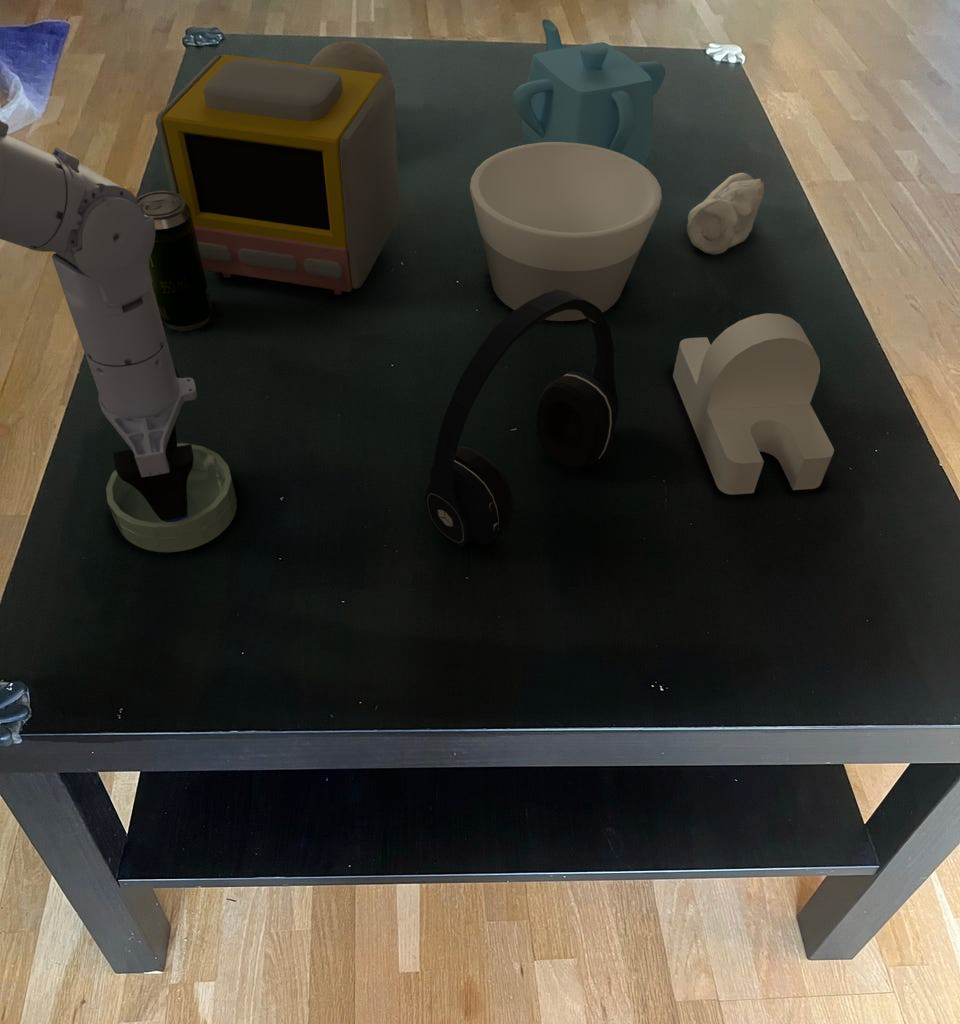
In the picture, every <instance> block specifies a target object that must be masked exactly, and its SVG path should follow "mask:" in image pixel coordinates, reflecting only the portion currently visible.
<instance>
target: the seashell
mask: <svg viewBox="0 0 960 1024" xmlns="http://www.w3.org/2000/svg"><path fill="white" fill-rule="evenodd" d="M308 65H314V66H322V67H330V68H338V69H346V70H354V71H362V72H370V73H378V74H382V75H383V76H385V75H386V76H387V77H388V78H389V79H390V80H391V82H392V83H393V78H392V74H391V71H390V69H389V65H388V64H387V62H386V60H384V58H383V56H382V55H381V54H379V53H378V52H377V51H376V50H375V49H373V48H372V47H370V46H369V45H367V44H365V43H362V42H360V41H354V40H342V41H336V42H333V43H330V44H328V45H326V46H324V47H323V48H322V49H321V50H320V51H319V52H318V53H317V54H315V56H314V57H313V58H312V59H311V61H310V63H309V64H308Z"/></svg>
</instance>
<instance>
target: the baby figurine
mask: <svg viewBox="0 0 960 1024" xmlns="http://www.w3.org/2000/svg"><path fill="white" fill-rule="evenodd" d="M761 179H762V178H756V179H755V178H753V176H751V175H750V174H749V173H746V172H737V173H735V174H732V175H729V176H728V177H727V178H726V179H725V180H724V181H723V182H722V183H720V184H719V185H718V186H717V187H716V188H715V189H714V190H712V191H711V192H710V193H709V195H707V197H706V198H705V199H704V200H703V201H702V202H700V203H698V204H697V205H696V206H694V207H693V208H692V209H691V210H690V211H689V213H688V215H687V224H686V232H687V236H688V238H689V240H690V242H691V244H692V245H693V246H694V247H695V248H697V249H699V250H700V251H701V252H703V253H705V254H709V255H721V254H723V253H725V252H726V251H728V249H729V248H732V247H734V246H736V245H737V246H738V244H741V243H744V242H745V241H746V240H747V239H748V237H749V236H750V233H751V232H752V230H753V228H754V223H755V221H756V218H757V216H758V211H759V209H760V206H761V203H762V201H763V197H764V194H765V190H764V188H765V183H764V182H763V181H762V180H761Z"/></svg>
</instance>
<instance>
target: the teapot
mask: <svg viewBox="0 0 960 1024" xmlns="http://www.w3.org/2000/svg"><path fill="white" fill-rule="evenodd" d="M541 25H542V28H543V32H544V36H545V47H546V48H545V51H540V52H536V53H535V54H534V55H532V60H531V65H530V69H529V74H528V79H527V82H525V83H523V84H520V85H519V86H517V87H516V88H515V90H514V92H513V95H512V102H513V106H514V108H515V110H516V113H517V114H518V115H519V117H520V118H521V126H522V127H521V128H522V135H523V140H524V145H527V144H535V143H545V142H566V143H579V144H586V145H592V146H597V147H601V148H605V149H609V150H612V151H614V152H617V153H620V154H623V155H625V156H627V157H629V158H631V159H633V160H635V161H637V162H638V163H640V164H641V165H642V166H644V167H645V166H646V165H647V162H648V159H649V157H650V152H651V146H652V136H653V126H654V97H655V96H656V95H657V93H658V91H659V89H661V86H662V84H663V82H664V79H665V76H666V67H665V66H664V65H663V64H662V63H660V62H658V61H652V60H651V61H650V60H649V61H640V62H635V61H634V60H633V59H631V57H629V56H627V55H626V54H624V53H623V52H622V51H620V50H618V49H617V48H615V46H613V45H611V44H608V43H606V42H603V41H601V42H593V43H586V44H581V45H580V44H579V45H573V46H567V47H563V43H562V39H561V34H560V31H559V28H558V27H557V25H556V24H555V23H554V22H553V21H552V20H549V19H546V18H545V19H542V21H541ZM645 168H646V167H645Z"/></svg>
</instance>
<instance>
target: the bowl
mask: <svg viewBox="0 0 960 1024" xmlns="http://www.w3.org/2000/svg"><path fill="white" fill-rule="evenodd" d="M469 193H470V196H471V200H472V201H471V202H472V205H473V208H474V214H475V218H476V222H477V227H478V230H479V234H480V238H481V241H482V246H483V250H484V255H485V260H486V264H487V267H488V272H489V276H490V281H491V285H492V289H493V291H494V294H495V295H496V296H497V298H498V299H499V300H500V301H501V302H502V303H503V304H504V305H505V306H507V307H509V308H510V309H512V311H515V310H516V309H518V308H519V307H521V306H522V305H523V304H525V303H526V302H528V301H530V300H532V299H534V298H536V297H538V296H540V295H542V294H544V293H547V292H550V291H553V290H564V291H569V292H571V293H573V294H575V295H576V296H578V297H580V298H582V299H584V300H586V301H588V302H590V303H592V304H594V305H595V306H596V307H598V308H599V309H600V310H601V311H602V313H604V312H606V311H608V310H610V308H611V307H613V306H614V305H615V304H617V303H616V302H617V301H618V300H619V299H620V297H621V295H622V292H623V291H624V288H625V285H626V284H627V281H628V279H629V276H630V274H631V272H632V270H633V267H634V265H635V263H636V261H637V259H638V256H639V254H640V252H641V250H642V247H643V245H644V244H645V242H646V239H647V237H648V235H649V232H650V231H651V228H652V226H653V223H654V221H655V219H656V217H657V214H658V213H659V211H660V209H661V208H660V206H661V204H662V201H663V194H662V187H661V185H660V184H659V181H658V179H657V178H656V177H655V175H653V173H652V172H651V171H650V170H649V169H648V168H647V167H644V166H642V165H641V164H640V163H638V162H637V161H635V160H633V159H631V158H629V157H627V156H625V155H623V154H620V153H617V152H614V151H612V150H609V149H605V148H601V147H597V146H592V145H586V144H579V143H566V142H545V143H535V144H527V145H526V144H522V145H518V146H514V147H511V148H507V149H504V150H502V151H500V152H496V153H494V154H493V155H492V156H490V157H488V158H487V159H485V160H484V161H482V163H480V165H478V166H477V167H476V169H475V170H474V173H473V174H472V175H471V178H470V182H469ZM585 319H586V320H587V318H586V317H585V316H584V314H583V313H582V312H581V311H578V310H564V311H561V312H558V313H555V314H553V315H552V316H550V317H548V318H546V319H544V320H543V321H553V322H569V321H574V322H575V321H580V320H585Z"/></svg>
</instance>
